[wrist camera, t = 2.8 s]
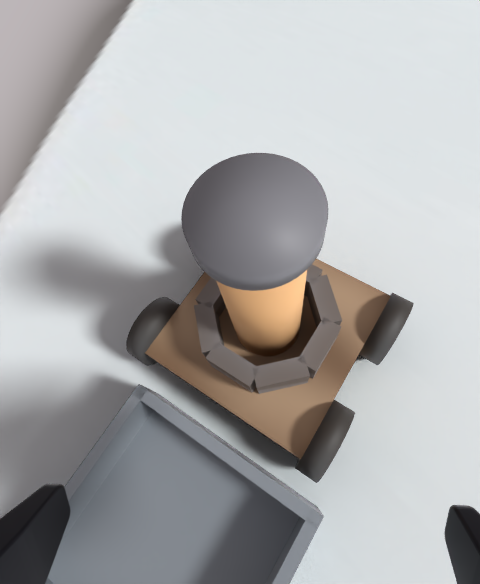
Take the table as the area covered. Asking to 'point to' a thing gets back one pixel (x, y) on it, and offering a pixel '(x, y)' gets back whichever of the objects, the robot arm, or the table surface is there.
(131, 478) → the tray
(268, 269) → the pin
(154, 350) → the trolley
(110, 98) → the table surface
